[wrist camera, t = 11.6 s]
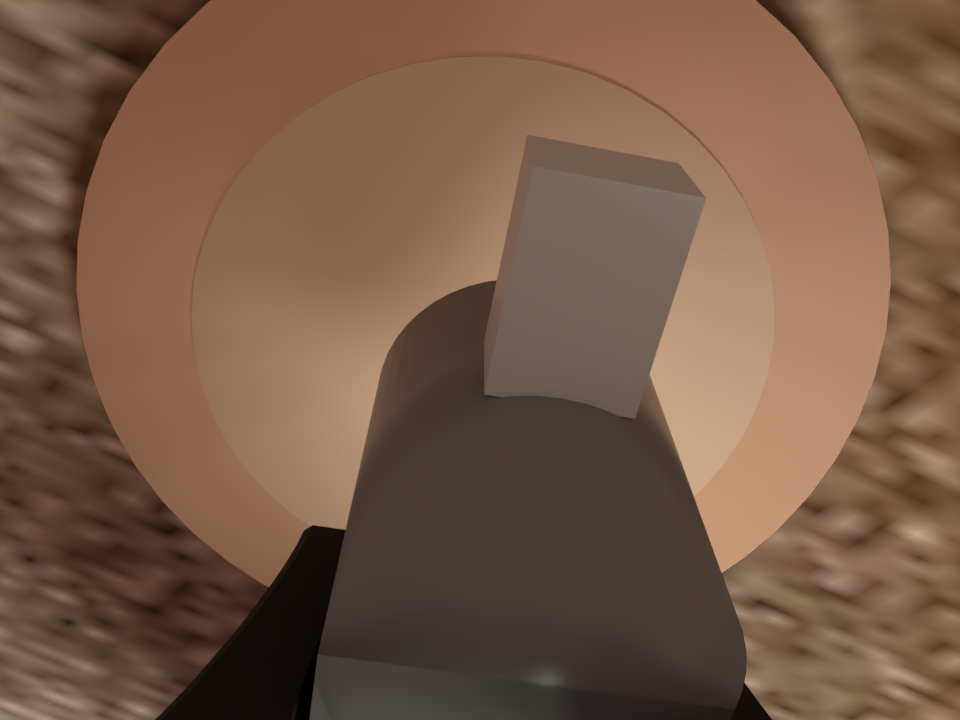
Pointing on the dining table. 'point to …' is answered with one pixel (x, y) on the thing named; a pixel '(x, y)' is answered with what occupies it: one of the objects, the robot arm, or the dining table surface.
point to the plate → (462, 240)
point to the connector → (537, 482)
